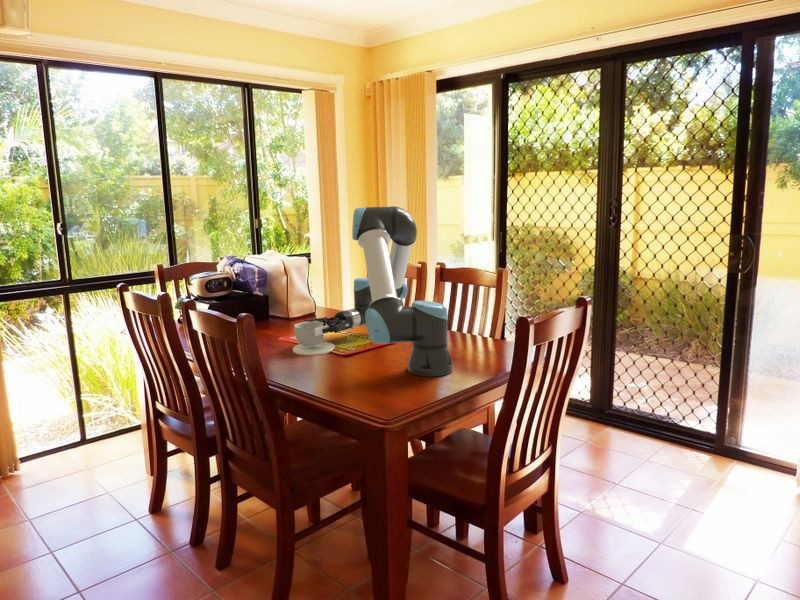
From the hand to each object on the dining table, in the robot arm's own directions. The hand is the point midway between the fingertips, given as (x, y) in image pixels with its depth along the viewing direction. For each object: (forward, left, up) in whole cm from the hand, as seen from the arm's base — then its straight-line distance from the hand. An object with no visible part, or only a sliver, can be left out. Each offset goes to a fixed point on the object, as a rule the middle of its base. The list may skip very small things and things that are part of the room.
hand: (304, 330), depth 224 cm
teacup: (+2, -3, -6) cm, 7 cm away
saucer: (+1, -4, -8) cm, 9 cm away
